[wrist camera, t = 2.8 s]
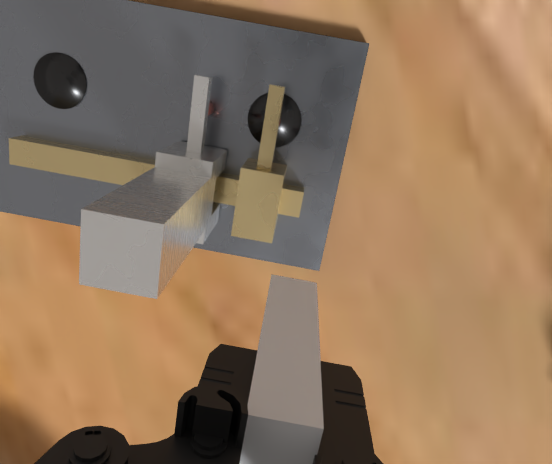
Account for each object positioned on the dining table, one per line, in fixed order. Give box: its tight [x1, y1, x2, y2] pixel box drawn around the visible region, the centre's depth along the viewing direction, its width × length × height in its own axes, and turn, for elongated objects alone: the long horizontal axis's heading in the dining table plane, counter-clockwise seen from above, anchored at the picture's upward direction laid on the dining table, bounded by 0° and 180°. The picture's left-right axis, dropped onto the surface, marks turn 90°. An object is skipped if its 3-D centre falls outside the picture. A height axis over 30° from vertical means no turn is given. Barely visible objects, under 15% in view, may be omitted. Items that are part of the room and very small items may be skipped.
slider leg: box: [79, 75, 228, 299], centre depth 22 cm, size 9×3×12 cm, turn 170°
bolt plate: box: [0, 0, 369, 271], centre depth 28 cm, size 14×22×1 cm, turn 81°
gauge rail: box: [9, 84, 304, 243], centre depth 26 cm, size 8×18×3 cm, turn 81°
